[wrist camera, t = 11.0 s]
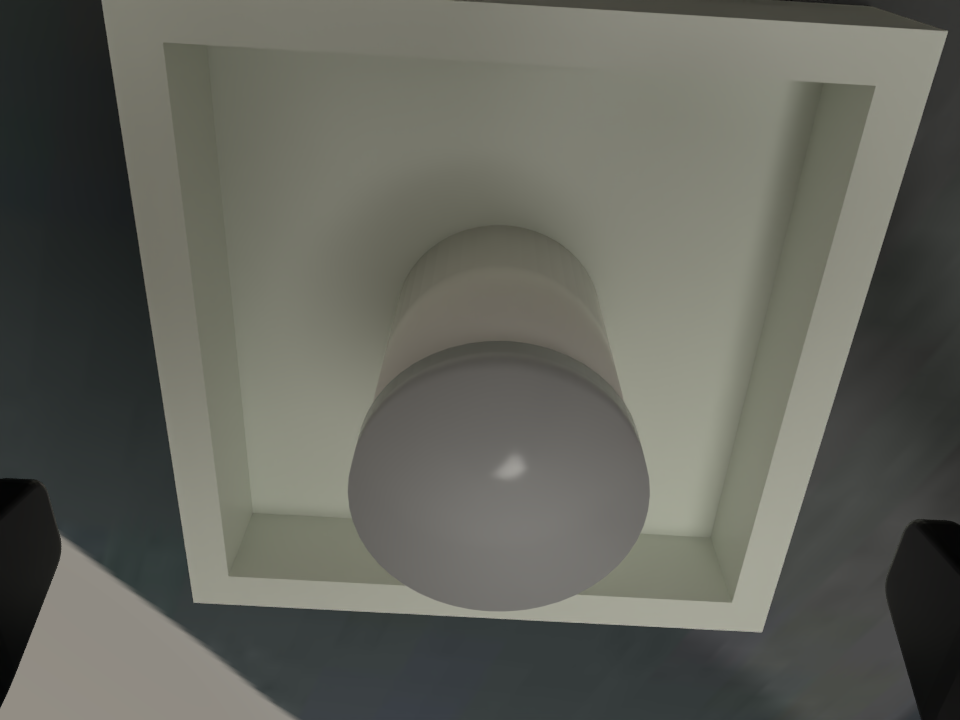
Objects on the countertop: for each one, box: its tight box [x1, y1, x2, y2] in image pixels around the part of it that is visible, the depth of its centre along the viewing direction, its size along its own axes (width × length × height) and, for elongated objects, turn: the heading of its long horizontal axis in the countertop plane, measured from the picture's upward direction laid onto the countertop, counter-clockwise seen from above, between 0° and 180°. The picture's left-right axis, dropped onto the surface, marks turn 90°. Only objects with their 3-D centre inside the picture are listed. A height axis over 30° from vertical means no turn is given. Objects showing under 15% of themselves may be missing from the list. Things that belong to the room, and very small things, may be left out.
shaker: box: [348, 225, 650, 611], centre depth 18 cm, size 5×5×7 cm
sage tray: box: [101, 0, 948, 632], centre depth 20 cm, size 15×15×4 cm
